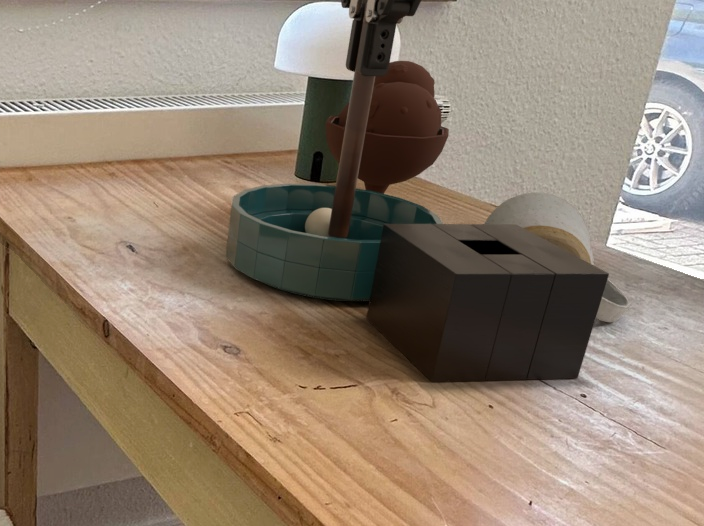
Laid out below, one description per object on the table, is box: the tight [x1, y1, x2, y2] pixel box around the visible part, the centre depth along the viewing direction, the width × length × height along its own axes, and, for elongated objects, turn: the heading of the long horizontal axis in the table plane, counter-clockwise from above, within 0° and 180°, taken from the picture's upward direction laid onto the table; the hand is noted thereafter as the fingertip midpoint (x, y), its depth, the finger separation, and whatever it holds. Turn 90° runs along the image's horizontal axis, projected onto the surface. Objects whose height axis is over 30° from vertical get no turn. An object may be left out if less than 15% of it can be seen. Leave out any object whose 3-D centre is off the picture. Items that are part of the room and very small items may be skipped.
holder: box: [365, 223, 610, 383], centre depth 57 cm, size 10×10×7 cm
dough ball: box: [305, 208, 335, 238], centre depth 75 cm, size 3×3×3 cm
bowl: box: [225, 183, 444, 302], centre depth 70 cm, size 16×16×5 cm
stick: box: [328, 3, 375, 238], centre depth 69 cm, size 2×2×18 cm
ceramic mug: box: [484, 192, 630, 323], centre depth 65 cm, size 11×8×8 cm
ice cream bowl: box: [325, 60, 450, 194], centre depth 80 cm, size 11×11×15 cm
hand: (365, 72), depth 67 cm, fingers closed on stick, 1 cm apart
